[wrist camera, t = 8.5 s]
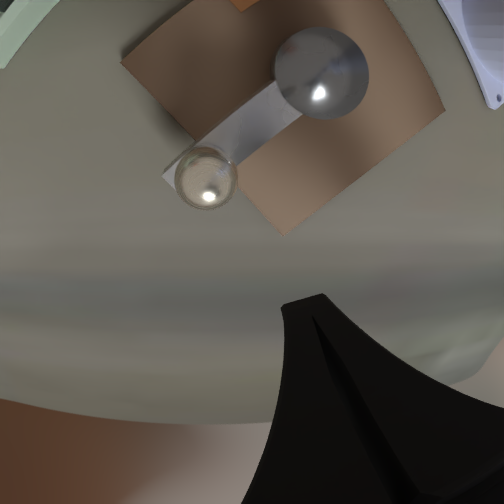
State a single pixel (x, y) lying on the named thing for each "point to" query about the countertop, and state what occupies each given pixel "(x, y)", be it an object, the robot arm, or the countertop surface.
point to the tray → (20, 24)
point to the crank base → (257, 75)
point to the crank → (272, 112)
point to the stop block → (5, 5)
